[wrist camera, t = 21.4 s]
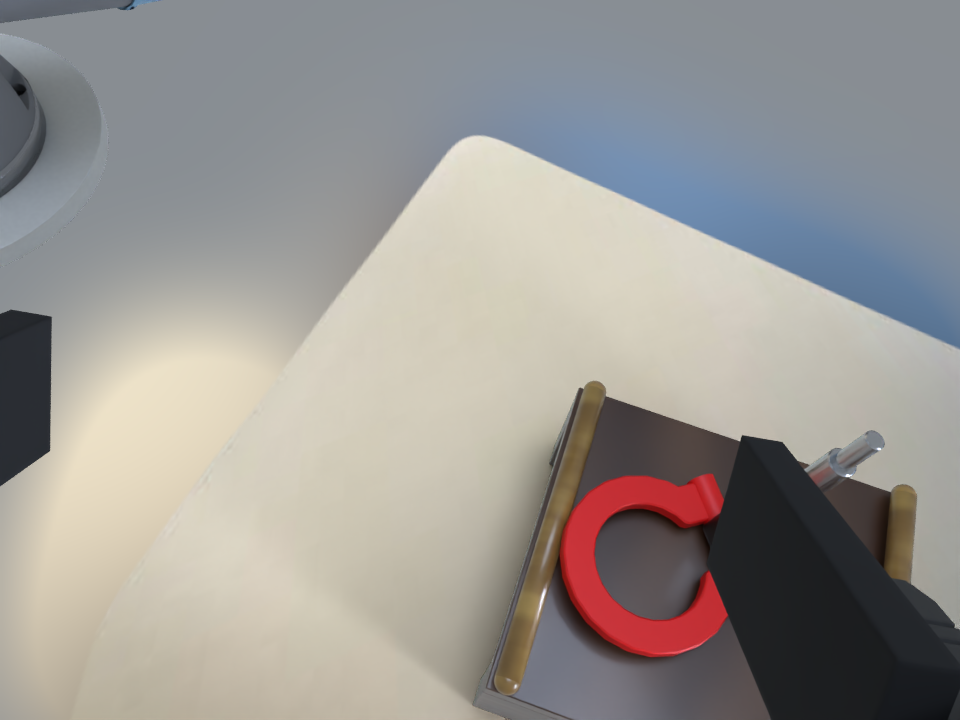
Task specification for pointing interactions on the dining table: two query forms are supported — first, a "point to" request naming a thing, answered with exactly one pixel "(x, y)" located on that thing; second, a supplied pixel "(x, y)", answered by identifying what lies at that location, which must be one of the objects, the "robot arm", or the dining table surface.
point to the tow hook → (686, 510)
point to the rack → (644, 578)
